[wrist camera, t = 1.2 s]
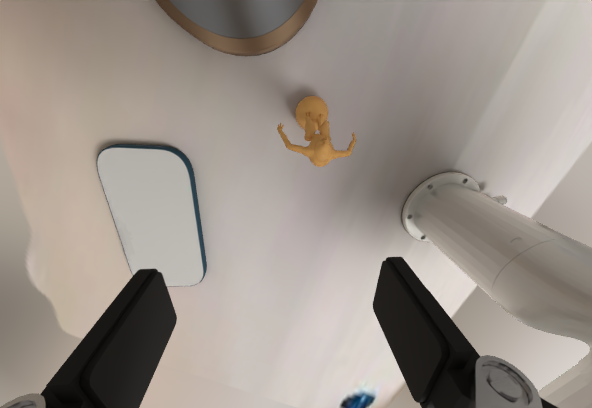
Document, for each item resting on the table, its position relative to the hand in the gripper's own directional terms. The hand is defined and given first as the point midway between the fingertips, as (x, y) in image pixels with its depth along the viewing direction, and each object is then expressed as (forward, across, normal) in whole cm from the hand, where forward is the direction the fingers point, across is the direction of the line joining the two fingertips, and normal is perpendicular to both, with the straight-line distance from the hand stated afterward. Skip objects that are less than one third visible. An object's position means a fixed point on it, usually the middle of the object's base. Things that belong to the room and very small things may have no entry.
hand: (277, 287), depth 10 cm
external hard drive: (+24, +18, +10) cm, 32 cm away
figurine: (+24, -4, -4) cm, 25 cm away
